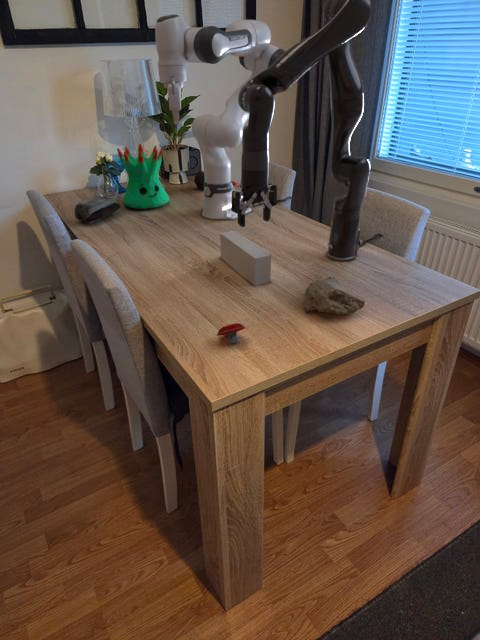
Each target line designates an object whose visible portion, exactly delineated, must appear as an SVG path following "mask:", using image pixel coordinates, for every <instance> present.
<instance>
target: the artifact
mask: <svg viewBox="0 0 480 640" xmlns="http://www.w3.org/2000/svg"><path fill="white" fill-rule="evenodd" d="M304 296H305V298H304V302H303V303H304V308H305V310H306V311H307V312H308V313H310V312H313V311H314V310H317V311H318V313H328V314H334V315H341V316H343V315H346V314H348V313H349V312H350V313H356V312H357V311H358V310H361V309H363V308H364V307H365V304H366V303H365V300H363V299H361V298H359V297H358V296H356V295H354V294H353V293H351V292H350V291H349V290H348V289H346V288H345V287H344V286H343V285H342V284H341V283H340V281H339V280H338V279H337V278H336V277H335V276H329V277H327V278H324V279H320V280H319V279H316V281H313V282H310V283H309V284H308V285H307V287H306V288H305V292H304Z"/></svg>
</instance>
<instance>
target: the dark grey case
mask: <svg viewBox="0 0 480 640" xmlns="http://www.w3.org/2000/svg"><path fill="white" fill-rule="evenodd" d="M120 209H121V204H120V203H119V202H117V201H116V199H115V197H109V198H108V197H107V196H100V195H98V196H95V197H89V198H87V199H84V200H81V201H79V202H78V203H77V204H76V205H75V206H74V217H75V219H76V220H78V221H83V222H84V223H86V224H87V225H89V224H92V223H94V222H96V221H97V222H98V220H99V221H100V220H101V219H104V218H106V217H107V216H110V215H112V214H114V213H115V212H116V211H119V210H120Z"/></svg>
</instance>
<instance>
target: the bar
mask: <svg viewBox="0 0 480 640" xmlns="http://www.w3.org/2000/svg"><path fill="white" fill-rule="evenodd" d="M219 235H220V236H219V240H220V259H221V260H222V261H224V262H225V263H226V264H227V265H228V266H230V267H231V268H232V269H233V270H235V271H236V272H237V273H238V274H240V276H242V277H243V278H244V279H245V280H246V281H248V282H249V283H251V285H252V286H253V287H255V286H259V285H263V284H268V283H271V271H272V255H271V253H269V252H267V251H266V250H265V249H263V248H262V247H260V246H258V245H257V244H256V243H254V242H252V241H251V240H250V239H248V238H247V237H246V236H244V235H242V234H241V233H239V232H238V231H237V230H228V231H223V232H220V234H219Z"/></svg>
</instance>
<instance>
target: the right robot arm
mask: <svg viewBox="0 0 480 640" xmlns="http://www.w3.org/2000/svg"><path fill="white" fill-rule="evenodd" d="M372 9H373V8H372V1H371V0H325V2H324V6H323V11H322V24H323V26H322V27H321V28H319V29H318V30H317V31H316V32H314V33H312V34H311V35H309V36H307V37H305V38H303V39H302V40H300V41H299V42H297V43H295V44H294V45H292V46H291V47H289V48H288V49H287V50H285V51H286V52H285V53H284V54H283V55H281V56H280V57H279V58H278V59H277V60H276V61H275V62H274V63H273V64H272V65H271V66H270V67H269V68H268V69H266V70H265V71H263V72H261V73H260V74H258V75H257V76H255V77H254V78H252V79H251V80H250V81H248V82H247V83H246V84H245V85H244V86H243V88H242V89H241V91H240V93H239V96H238V103H239V106H240V108H241V109H242V110H243V111H245V112H247V113H249V119H248V121H247V125H246V124H245V125H244V127H243V133H242V141H241V143H242V144H241V145H242V146H241V158H240V159H241V165H240V167H241V168H240V169H241V181H240V182H241V190H236V189H235V190H236V191H235V190H233V191H232V204H231V210H232V211H233V212H235V213H237V214H238V217H237V224H238V225H239V226H240V227H241V228H245V227H246V214H245V212H246V210H247V208H249V207H250V208H251V205H252V204H254V205H256V204H260V203H262V206H263V208H262V220H263V221H264V222H269V221H270V219H271V209H272V207H276V206H277V205H278V202H277V200H278V187H277V184H274V183H270V182H269V176H270V175H269V173H270V152H269V147H270V146H269V145H270V144H269V143H270V142H269V141H270V139H269V138H270V135H269V133H270V129H271V125H272V122H273V117H274V112H275V106H276V105H275V103H276V101H275V95H277V94H281V93H285V92H286V91H288V90H289V89H290V88H291V87H292V86H293V85H295V83H297V82H298V81H299V80H300V79H301V78H302V77H303V76H304V75H305V74H306V73H307V72H308V71H310V69H312V68H313V67H314V66H316V64H318V63H319V62H321V60H323V59H324V58H325V57H327V61H328V62H327V64H328V78H329V99H330V100H329V101H330V116H331V138H332V139H331V140H332V141H331V143H332V144H331V162H330V163H331V166H330V169H331V170H330V171H331V178H332V181H333V182H334V183H335V184H337V185H340V186H344V187H347V188H348V189H347V193H346V194H341V195H337V196H335V197H334V199H333V203H332V213H331V220H330V221H331V222H330V230H329V238H328V242H327V246H328V248H327V257H328V258H330V259H332V260H334V261H338V262H347V261H353V260H354V259H355V257H357V256H358V255H357V254H358V249H359V247H361V246H363V245H364V244H366V242H368V241H371V240H373V239H375V238H377V237H378V236H379V237H383V234H382V233H381V232H377V233H376V234H374V235H372V236H371V237H368V238H366V239H364V240H363V241H362V242H361V240H360V235H361V229H360V221H361V215H362V209H363V204H364V201H365V199H366V195H367V189H368V185H369V179H370V176H371V175H370V174H371V162H370V161H369V159H367V158H366V157H361V156H356V155H352V154H351V151H350V142H351V137H352V135H353V133H354V131H355V129H356V128H357V127H358V124H359V122H360V121H361V118H362V116H363V113H364V108H365V107H364V106H365V102H364V101H365V99H364V97H365V95H364V94H365V93H364V90H365V89H364V82H363V80H362V76H361V74H360V72H359V70H358V66H357V64H356V61H355V58H354V56H353V52H352V45H351V43H352V41H351V40H352V38H354V37H356V36H357V35H358V34H360V33H361V32H362V31H364V29H365V28H366V27H367V26H368V23H369V22H370V20H371V17H372ZM267 193H268V197H267ZM241 196H243V198H242V199H241ZM240 199H241V201H240ZM245 201H246V202H247V203H245ZM380 233H381V234H380Z"/></svg>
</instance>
